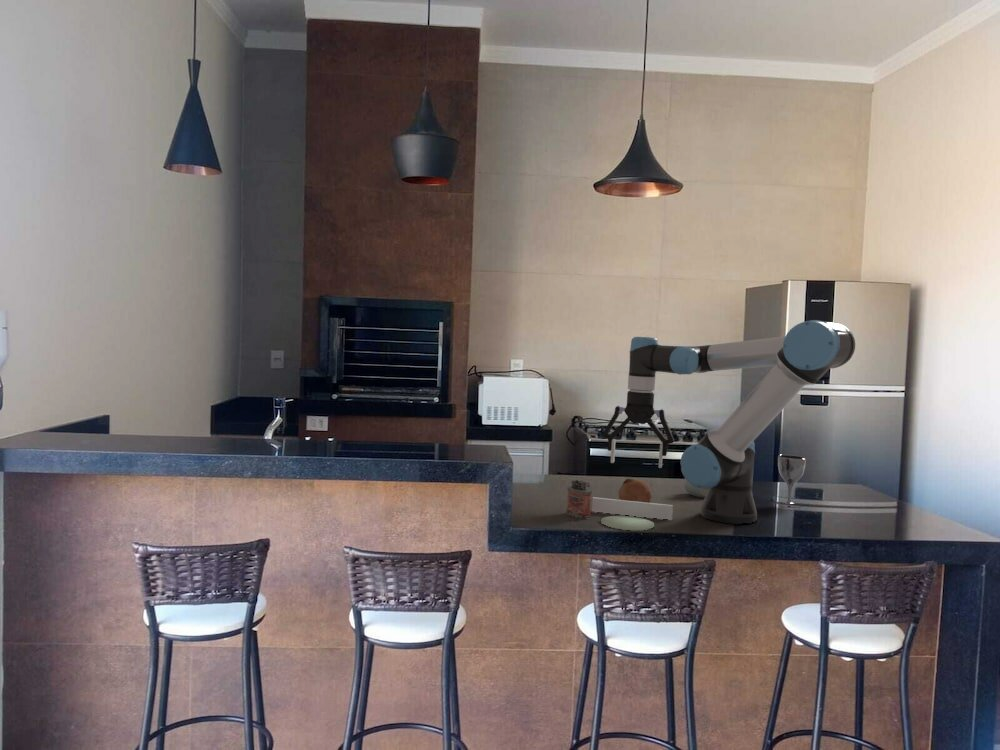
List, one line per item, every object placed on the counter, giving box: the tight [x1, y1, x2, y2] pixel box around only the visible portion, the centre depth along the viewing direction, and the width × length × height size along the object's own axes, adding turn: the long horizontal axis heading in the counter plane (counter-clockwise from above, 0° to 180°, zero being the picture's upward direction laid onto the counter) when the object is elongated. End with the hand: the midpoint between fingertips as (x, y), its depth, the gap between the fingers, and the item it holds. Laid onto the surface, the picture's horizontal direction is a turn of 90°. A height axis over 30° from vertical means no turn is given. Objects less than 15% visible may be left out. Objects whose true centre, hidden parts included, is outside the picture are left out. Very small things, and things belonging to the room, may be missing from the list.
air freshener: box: [684, 480, 709, 499], centre depth 249 cm, size 11×8×10 cm
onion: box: [618, 477, 653, 503], centre depth 226 cm, size 10×9×10 cm
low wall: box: [591, 496, 674, 521], centre depth 219 cm, size 22×1×4 cm, turn 74°
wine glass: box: [777, 453, 807, 504], centre depth 241 cm, size 8×8×15 cm
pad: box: [600, 515, 655, 532], centre depth 209 cm, size 14×14×1 cm
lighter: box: [565, 478, 592, 519], centre depth 216 cm, size 8×3×10 cm, turn 40°
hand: (636, 464), depth 226 cm, fingers open, 13 cm apart
